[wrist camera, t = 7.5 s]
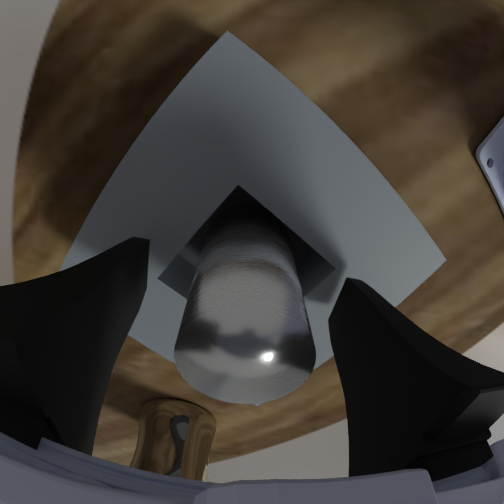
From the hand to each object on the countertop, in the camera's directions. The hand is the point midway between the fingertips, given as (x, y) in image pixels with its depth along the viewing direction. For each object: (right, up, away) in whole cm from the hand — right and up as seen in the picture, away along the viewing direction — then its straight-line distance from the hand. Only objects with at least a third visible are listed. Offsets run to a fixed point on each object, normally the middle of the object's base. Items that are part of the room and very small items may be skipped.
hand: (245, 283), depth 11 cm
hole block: (0, +2, +3) cm, 4 cm away
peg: (0, +1, +3) cm, 3 cm away
